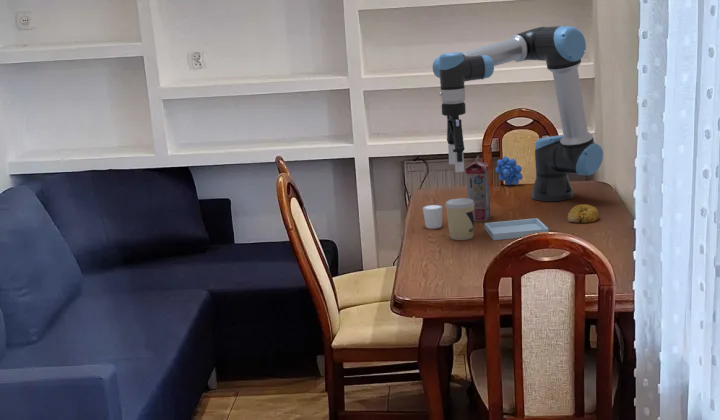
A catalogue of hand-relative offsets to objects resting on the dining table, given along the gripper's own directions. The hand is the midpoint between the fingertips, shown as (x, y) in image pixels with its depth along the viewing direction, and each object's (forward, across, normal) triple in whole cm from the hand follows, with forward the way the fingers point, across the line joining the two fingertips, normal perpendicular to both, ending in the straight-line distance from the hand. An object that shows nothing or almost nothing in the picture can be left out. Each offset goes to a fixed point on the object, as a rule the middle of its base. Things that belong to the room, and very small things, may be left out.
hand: (456, 167), depth 274 cm
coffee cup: (+23, +1, 0) cm, 23 cm away
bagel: (+23, -7, +43) cm, 49 cm away
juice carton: (+23, -21, +10) cm, 33 cm away
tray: (+23, +1, +18) cm, 30 cm away
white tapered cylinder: (+23, -15, -7) cm, 29 cm away
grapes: (+23, -67, +31) cm, 77 cm away
